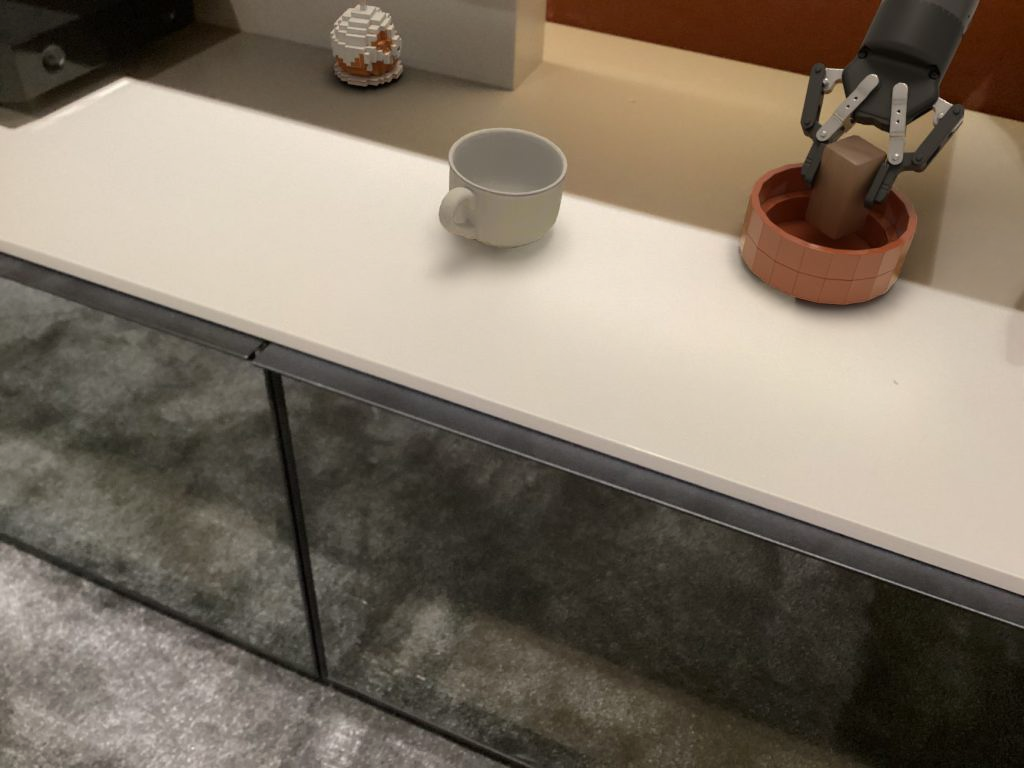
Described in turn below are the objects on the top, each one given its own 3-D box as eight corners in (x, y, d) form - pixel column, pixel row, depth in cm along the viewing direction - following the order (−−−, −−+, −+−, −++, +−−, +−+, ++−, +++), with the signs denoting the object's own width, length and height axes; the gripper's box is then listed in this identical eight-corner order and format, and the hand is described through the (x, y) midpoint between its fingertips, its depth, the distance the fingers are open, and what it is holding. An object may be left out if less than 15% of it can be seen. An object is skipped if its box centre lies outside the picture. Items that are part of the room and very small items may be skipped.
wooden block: (833, 207, 91) (856, 131, 86) (864, 228, 89) (890, 152, 83) (802, 219, 90) (823, 143, 84) (833, 242, 87) (857, 165, 82)
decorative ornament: (389, 94, 110) (380, -40, 100) (325, 85, 112) (310, -48, 101) (410, 64, 116) (404, -66, 105) (349, 55, 117) (336, -74, 107)
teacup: (513, 185, 98) (515, 114, 92) (585, 236, 92) (592, 162, 86) (400, 235, 91) (394, 161, 85) (470, 292, 85) (469, 217, 80)
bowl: (904, 237, 93) (924, 183, 89) (885, 326, 83) (907, 271, 79) (756, 201, 97) (769, 149, 92) (722, 284, 87) (735, 229, 83)
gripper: (841, -25, 83) (756, 157, 85) (1011, 18, 78) (917, 213, 79) (846, 14, 90) (768, 182, 91) (1003, 56, 85) (917, 234, 86)
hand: (838, 195), depth 85 cm, fingers closed on wooden block, 5 cm apart
